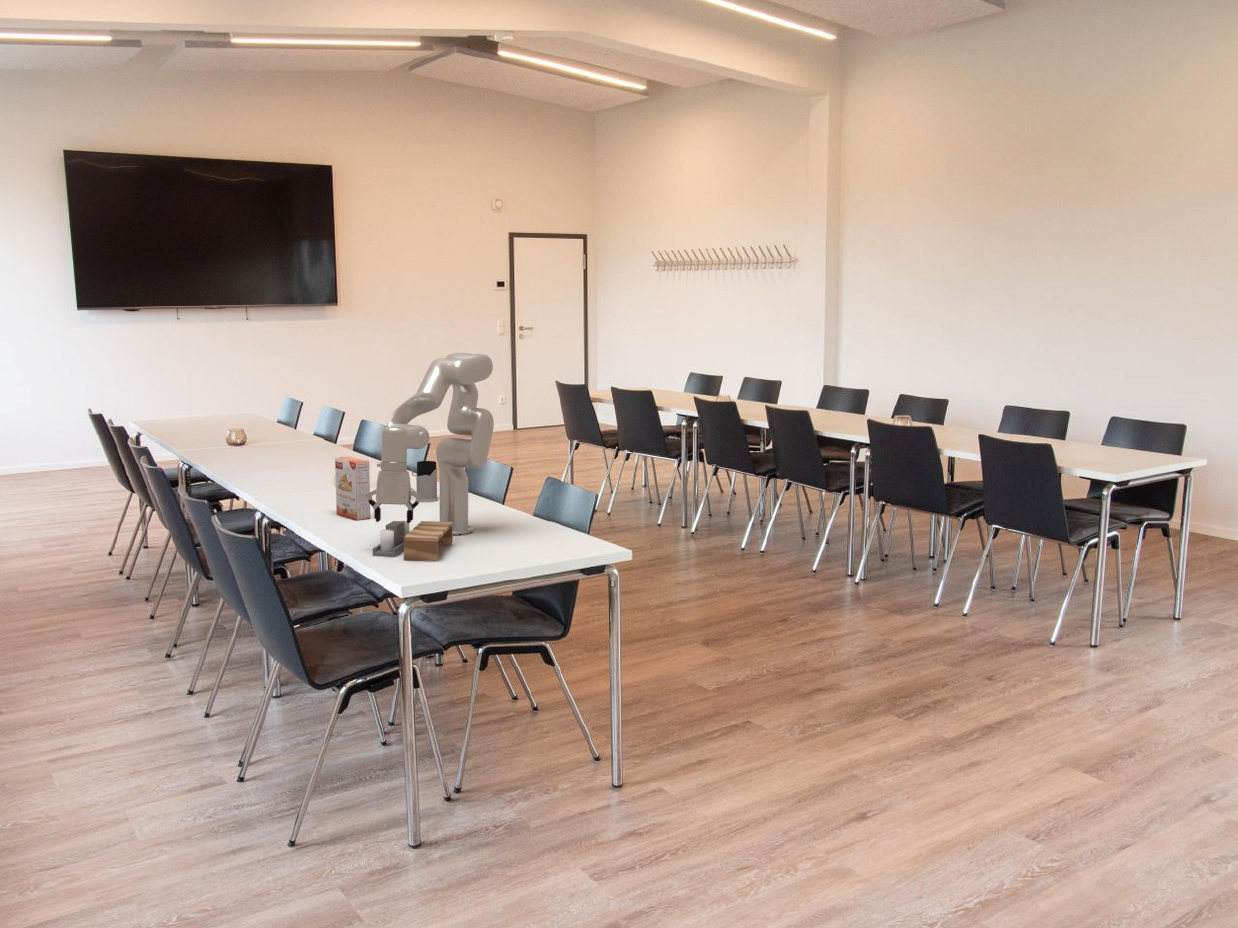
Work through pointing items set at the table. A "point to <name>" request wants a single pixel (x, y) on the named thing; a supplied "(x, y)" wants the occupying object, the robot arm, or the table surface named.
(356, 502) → the cracker box
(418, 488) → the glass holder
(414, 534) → the curved wooden channel
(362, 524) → the table surface
